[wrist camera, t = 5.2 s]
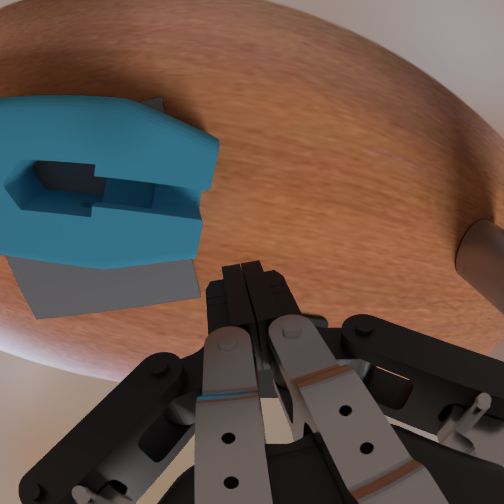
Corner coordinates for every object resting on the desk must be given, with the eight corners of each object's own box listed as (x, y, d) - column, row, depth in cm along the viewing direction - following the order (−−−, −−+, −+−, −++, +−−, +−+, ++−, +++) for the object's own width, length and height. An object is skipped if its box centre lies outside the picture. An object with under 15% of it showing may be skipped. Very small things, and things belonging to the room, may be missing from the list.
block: (216, 113, 20) (-4, 99, 13) (228, 114, 16) (-37, 102, 9) (187, 252, 25) (-8, 228, 18) (191, 284, 21) (-34, 253, 14)
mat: (162, 97, 19) (160, 96, 18) (200, 293, 27) (200, 297, 27) (-18, 165, 17) (-22, 167, 17) (38, 316, 25) (36, 319, 25)
